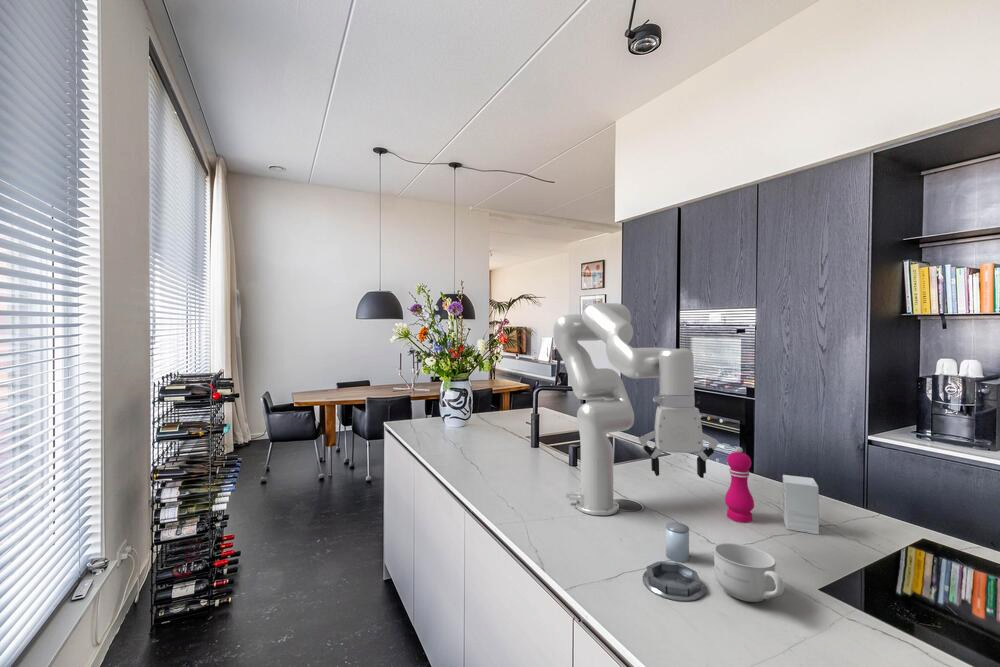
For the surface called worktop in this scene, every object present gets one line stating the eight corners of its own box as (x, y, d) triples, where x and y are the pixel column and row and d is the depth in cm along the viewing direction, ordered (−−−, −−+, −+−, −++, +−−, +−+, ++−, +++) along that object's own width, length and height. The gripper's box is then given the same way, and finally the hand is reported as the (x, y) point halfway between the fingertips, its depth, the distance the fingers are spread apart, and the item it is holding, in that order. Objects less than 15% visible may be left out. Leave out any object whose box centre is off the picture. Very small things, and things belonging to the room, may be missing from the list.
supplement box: (814, 524, 119) (814, 477, 119) (819, 535, 113) (819, 486, 113) (782, 519, 123) (782, 473, 123) (785, 529, 116) (784, 481, 116)
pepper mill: (758, 524, 119) (757, 450, 119) (729, 522, 121) (729, 449, 121) (749, 513, 126) (748, 444, 126) (721, 512, 128) (721, 443, 128)
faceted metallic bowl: (646, 597, 87) (646, 587, 87) (639, 566, 98) (639, 557, 98) (711, 604, 84) (711, 594, 84) (697, 571, 96) (697, 562, 96)
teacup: (703, 579, 93) (703, 541, 93) (752, 576, 94) (752, 539, 94) (745, 622, 79) (745, 577, 79) (802, 618, 80) (802, 574, 80)
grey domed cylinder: (667, 561, 101) (667, 530, 101) (664, 550, 105) (664, 521, 105) (691, 563, 100) (691, 532, 100) (686, 552, 104) (686, 523, 104)
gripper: (640, 403, 101) (641, 478, 101) (721, 404, 98) (723, 482, 97) (636, 399, 108) (637, 468, 108) (712, 400, 105) (713, 472, 105)
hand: (678, 475), depth 103 cm, fingers open, 9 cm apart
